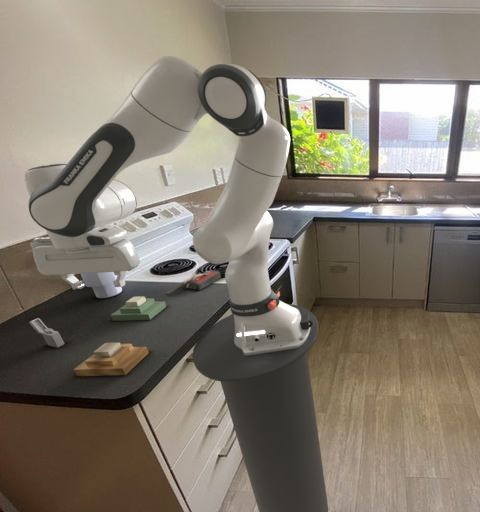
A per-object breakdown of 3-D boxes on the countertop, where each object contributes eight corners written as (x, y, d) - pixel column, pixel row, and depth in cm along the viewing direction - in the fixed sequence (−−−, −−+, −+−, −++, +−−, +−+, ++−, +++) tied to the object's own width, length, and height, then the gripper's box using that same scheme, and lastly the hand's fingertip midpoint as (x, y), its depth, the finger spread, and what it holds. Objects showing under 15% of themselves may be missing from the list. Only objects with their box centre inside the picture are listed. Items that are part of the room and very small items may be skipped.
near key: (122, 348, 76) (119, 342, 75) (110, 358, 73) (107, 351, 72) (108, 348, 76) (105, 342, 75) (96, 358, 73) (93, 352, 72)
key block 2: (148, 353, 80) (144, 341, 78) (125, 375, 72) (120, 362, 71) (104, 354, 79) (99, 342, 78) (76, 376, 72) (70, 363, 70)
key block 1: (166, 306, 101) (163, 296, 100) (150, 319, 94) (146, 309, 93) (132, 307, 101) (128, 297, 100) (112, 320, 94) (108, 310, 92)
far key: (146, 301, 98) (144, 296, 97) (138, 307, 95) (136, 301, 94) (135, 301, 98) (133, 296, 97) (127, 307, 95) (125, 302, 94)
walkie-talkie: (208, 274, 125) (164, 297, 108) (205, 265, 124) (161, 286, 106) (224, 276, 123) (182, 300, 105) (222, 267, 121) (179, 289, 104)
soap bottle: (97, 303, 104) (69, 240, 94) (86, 296, 108) (58, 235, 99) (132, 291, 112) (109, 232, 102) (120, 285, 116) (97, 228, 107)
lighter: (65, 343, 83) (52, 320, 80) (57, 347, 82) (44, 324, 79) (48, 339, 85) (35, 317, 82) (40, 343, 84) (27, 320, 80)
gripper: (13, 242, 64) (42, 296, 69) (115, 238, 66) (135, 290, 72) (40, 233, 69) (65, 284, 75) (133, 230, 72) (150, 279, 77)
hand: (100, 287), depth 73 cm, fingers open, 8 cm apart
